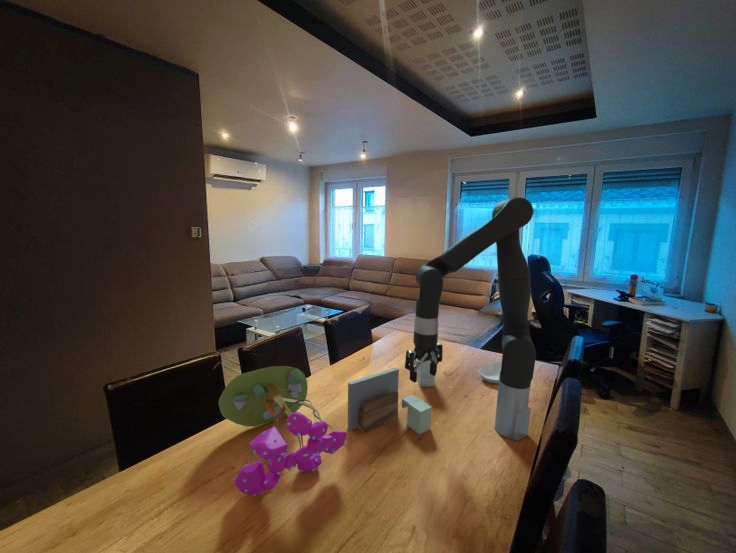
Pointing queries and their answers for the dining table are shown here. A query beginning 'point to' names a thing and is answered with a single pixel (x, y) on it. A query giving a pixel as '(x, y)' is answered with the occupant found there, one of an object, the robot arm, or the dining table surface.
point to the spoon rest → (491, 372)
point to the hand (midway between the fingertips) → (423, 378)
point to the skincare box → (425, 375)
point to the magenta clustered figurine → (276, 424)
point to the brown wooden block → (378, 412)
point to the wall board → (369, 392)
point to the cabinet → (417, 414)
